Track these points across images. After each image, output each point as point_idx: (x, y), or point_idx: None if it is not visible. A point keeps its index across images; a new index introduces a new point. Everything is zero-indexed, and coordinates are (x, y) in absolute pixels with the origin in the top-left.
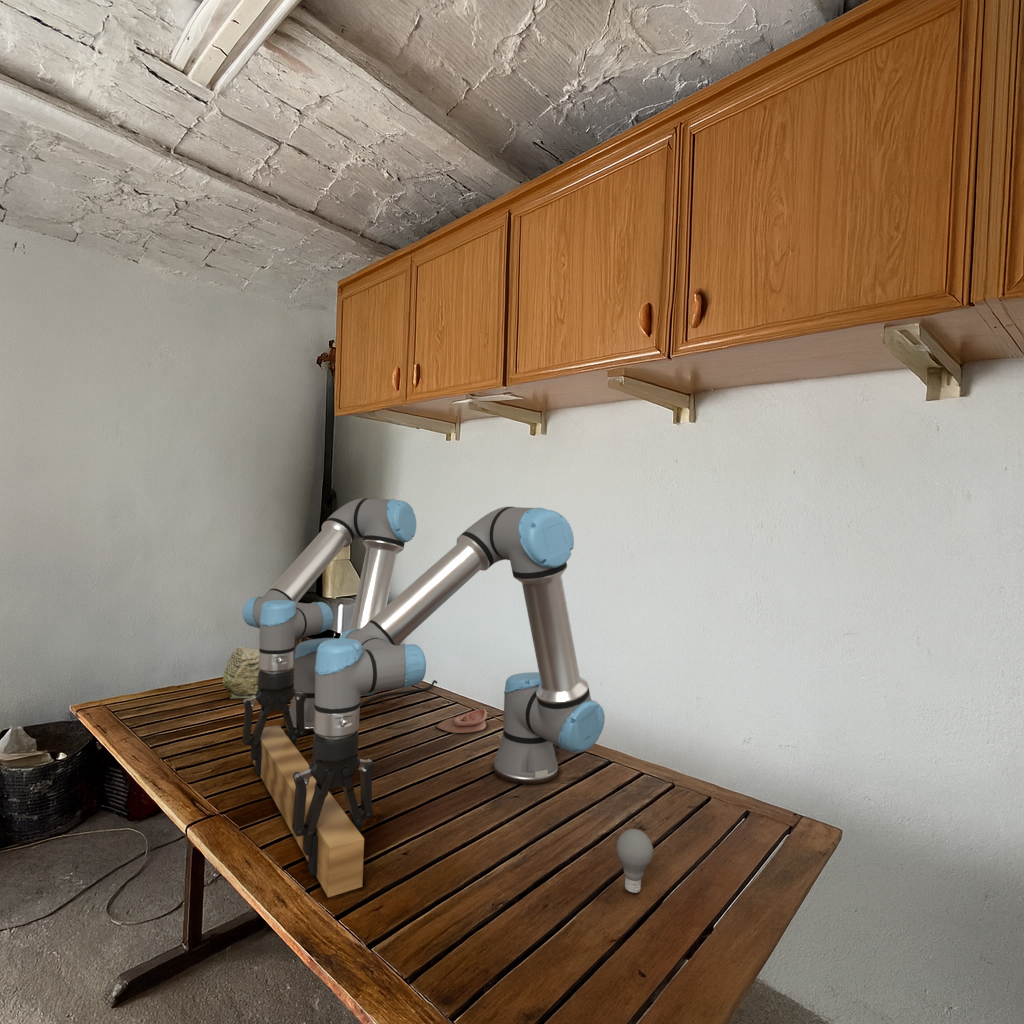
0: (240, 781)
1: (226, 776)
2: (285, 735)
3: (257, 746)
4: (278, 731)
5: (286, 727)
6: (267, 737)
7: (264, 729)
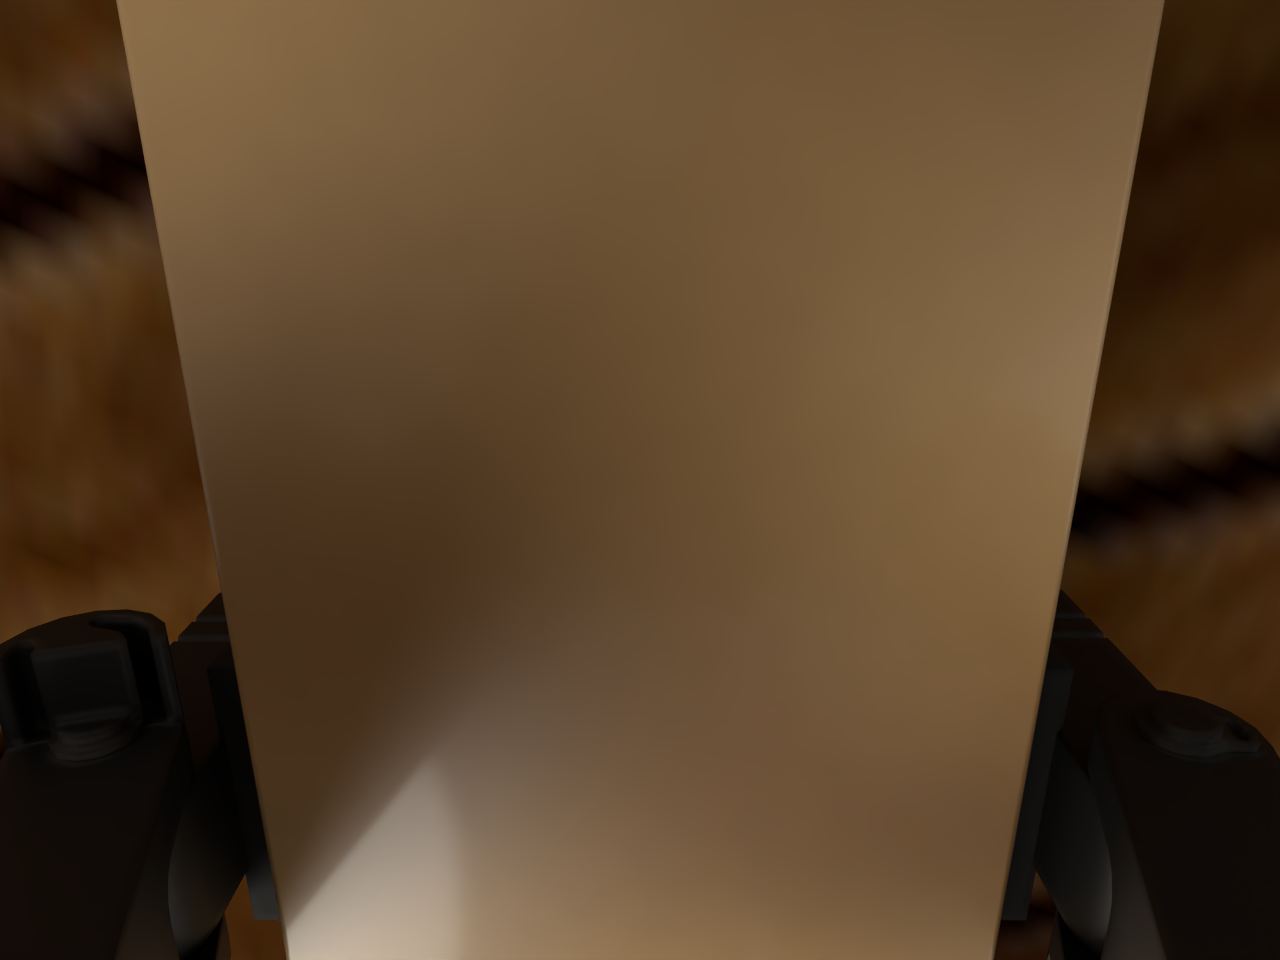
0: (212, 581)
1: (23, 343)
2: (969, 901)
3: (245, 852)
4: (909, 506)
5: (1150, 951)
6: (470, 838)
7: (493, 61)
